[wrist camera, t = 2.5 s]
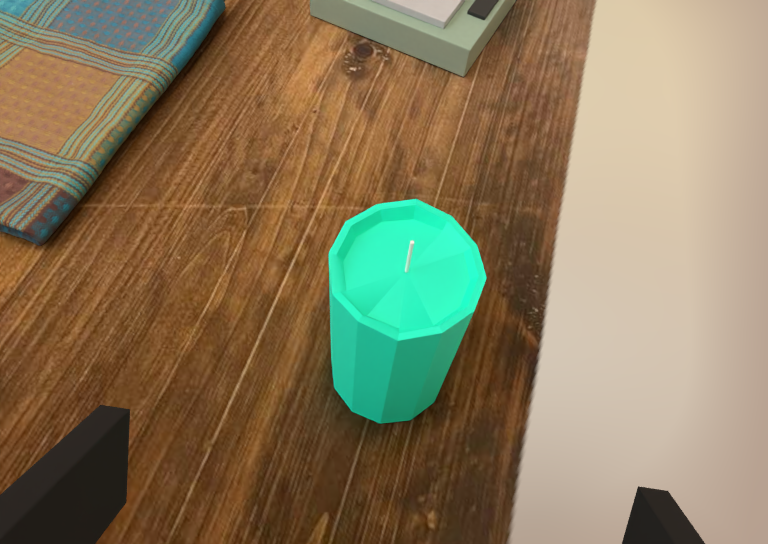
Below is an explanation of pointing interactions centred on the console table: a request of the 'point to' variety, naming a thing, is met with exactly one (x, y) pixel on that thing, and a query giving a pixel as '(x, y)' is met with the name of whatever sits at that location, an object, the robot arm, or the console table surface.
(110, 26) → the dish towel
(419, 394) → the candle
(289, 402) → the console table surface
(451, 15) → the scale
